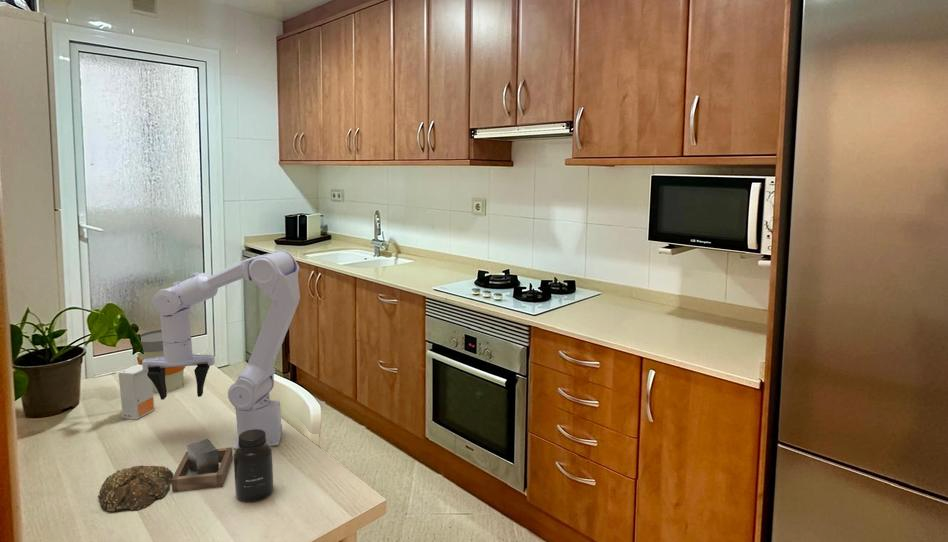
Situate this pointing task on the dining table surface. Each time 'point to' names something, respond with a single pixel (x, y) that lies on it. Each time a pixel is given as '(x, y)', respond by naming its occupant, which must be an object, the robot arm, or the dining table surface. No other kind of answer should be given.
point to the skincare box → (136, 392)
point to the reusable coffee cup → (155, 349)
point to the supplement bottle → (253, 466)
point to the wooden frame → (202, 480)
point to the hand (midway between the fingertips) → (182, 396)
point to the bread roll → (134, 488)
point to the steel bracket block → (202, 457)
